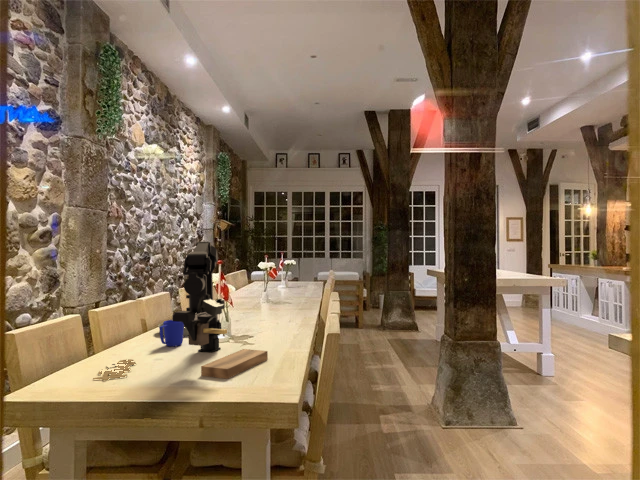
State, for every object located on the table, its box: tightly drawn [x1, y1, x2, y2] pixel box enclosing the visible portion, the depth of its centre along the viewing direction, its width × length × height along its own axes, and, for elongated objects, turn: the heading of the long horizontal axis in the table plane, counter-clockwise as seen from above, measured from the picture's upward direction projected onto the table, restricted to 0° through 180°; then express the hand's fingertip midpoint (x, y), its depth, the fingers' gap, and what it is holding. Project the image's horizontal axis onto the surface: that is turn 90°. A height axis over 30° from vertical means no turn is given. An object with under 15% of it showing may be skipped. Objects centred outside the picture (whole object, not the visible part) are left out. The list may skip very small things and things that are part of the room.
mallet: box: [188, 323, 228, 347], centre depth 149 cm, size 13×4×6 cm, turn 67°
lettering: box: [92, 359, 137, 381], centre depth 155 cm, size 25×10×1 cm, turn 12°
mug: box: [158, 319, 184, 347], centre depth 190 cm, size 8×12×10 cm
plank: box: [200, 348, 269, 380], centre depth 156 cm, size 10×25×3 cm, turn 157°
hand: (198, 339), depth 151 cm, fingers closed on mallet, 4 cm apart
